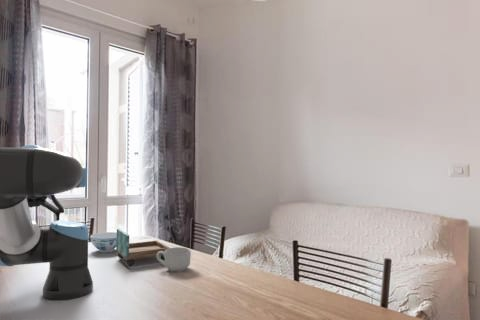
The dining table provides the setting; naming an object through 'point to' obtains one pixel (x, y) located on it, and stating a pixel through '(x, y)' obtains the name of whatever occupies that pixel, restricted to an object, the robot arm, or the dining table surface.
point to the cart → (137, 248)
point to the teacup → (175, 258)
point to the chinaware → (104, 241)
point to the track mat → (143, 262)
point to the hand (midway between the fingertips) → (36, 230)
